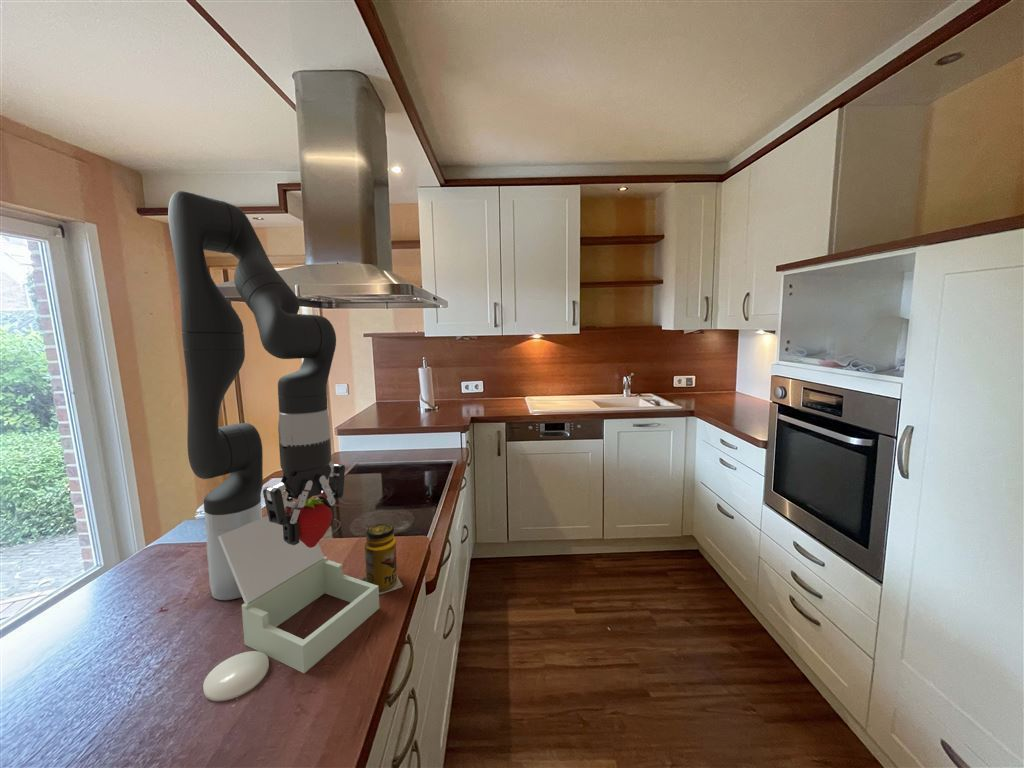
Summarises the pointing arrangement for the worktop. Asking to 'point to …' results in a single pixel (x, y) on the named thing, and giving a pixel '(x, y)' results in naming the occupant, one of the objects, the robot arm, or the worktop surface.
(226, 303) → the robot arm
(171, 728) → the worktop surface
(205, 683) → the cream white rounded part
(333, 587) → the cold frame
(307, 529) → the strawberry
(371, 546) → the condiment
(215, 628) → the worktop surface
